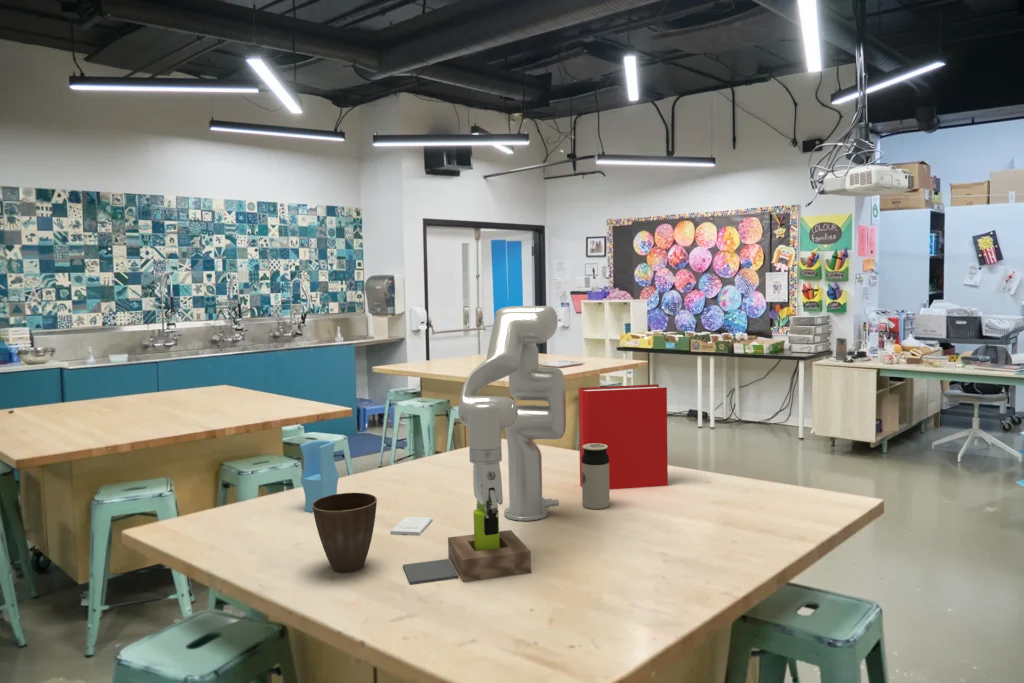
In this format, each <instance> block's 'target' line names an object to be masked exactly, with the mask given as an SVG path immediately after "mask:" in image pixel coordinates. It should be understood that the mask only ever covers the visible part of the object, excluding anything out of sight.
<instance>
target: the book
mask: <svg viewBox="0 0 1024 683" xmlns="http://www.w3.org/2000/svg"><path fill="white" fill-rule="evenodd" d="M578 433H579V434H578V435H579V436H578V439H579V448H578V449H579V486H580V488H582V455H583V453H584V449H583V447H582V446H583V445H585V444H591V443H599V444H605V445H607V446H608V448H607V454H608V456H609V491H610V490H624V489H639V488H640V489H641V488H653V487H668V485H669V482H668V480H669V478H668V476H669V475H668V474H669V473H668V469H669V468H668V467H669V466H668V388H667V387H659V383H656V384H636V385H635V384H633V385H615V386H614V385H613V386H612V385H611V386H608V385H607V386H590V387H587V386H586V387H579V388H578Z"/></svg>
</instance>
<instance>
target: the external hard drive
mask: <svg viewBox="0 0 1024 683" xmlns="http://www.w3.org/2000/svg"><path fill="white" fill-rule="evenodd" d="M432 522H433V518H432V517H423V516H422V517H421V516H420V517H418V516H405V517H403V518H402V520H400V521H399V523H397V524H396V525H395V526H394V527H393V529H391V530H390V532H389V533H390V535H391V536H392V535H394V536H418V537H419V536H421V535H422V533H423V532H424V531H425V530H426V529H427V528H428V527H429V526H430V525H431V524H432Z"/></svg>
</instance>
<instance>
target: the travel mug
mask: <svg viewBox="0 0 1024 683" xmlns="http://www.w3.org/2000/svg"><path fill="white" fill-rule="evenodd" d="M582 447H583V449H584V453H583V455H582V487H581V489H582V490H581V492H582V496H581V498H582V500H581V501H582V506H583V507H584V508H587V509H590V510H602V509H606V508H608V507H609V506H610V504H611V503H610V499H611V498H610V490H609V456H608V454H607V448H608V446H607V445H605V444H599V443H591V444H585V445H583V446H582Z"/></svg>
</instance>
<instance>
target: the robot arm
mask: <svg viewBox="0 0 1024 683" xmlns="http://www.w3.org/2000/svg"><path fill="white" fill-rule="evenodd" d="M493 320H494V321H493V323H492V324H493V325H492V328H491V334H490V337H489V338H490V339H489V343H488V344H489V345H488V349H487V354H486V358H485V359H484V361H482V362H481V363H480V364H478V365H477V366H476V367H475V368H474V369H473V370H472V371H471V373H469V375H467V377H466V378H465V380H464V383H463V386H462V389H461V393H460V397H459V401H458V409H457V414H458V419H459V421H460V423H461V424H462V425H463V426H465V427H468V444H469V445H468V447H469V450H468V451H469V462H470V463H471V464H473V468H472V469H473V470H472V472H473V473H472V475H473V476H472V477H473V478H472V480H473V484H472V485H473V496H474V498H475V499H476V509H479V502H480V503H481V504H482V505H483V506H484V509H485V517H486V518H484V534H485V535H493V534H498V511H499V509H498V508H499V506H500V505H502V504H503V502H504V496H503V482H502V472H501V471H502V470H501V466H500V463H501V462H502V461H503V460H502V458H503V457H502V456H503V454H502V452H503V451H502V429H505V430H504V431H505V435H506V442H507V456H508V458H507V460H508V463H507V464H508V466H507V467H508V494H509V495H508V496H509V498H508V499H509V504H508V505H509V506H508V507H506V509H504V510H503V512H504V513H503V515H504V517H505V518H507V519H509V520H512V521H519V522H526V521H527V522H529V521H530V522H531V521H537V520H541V519H544V518H546V517H548V515H549V510H548V509H549V508H550V507H558V506H560V501H559V499H552V498H544V497H543V469H542V467H543V466H542V461H543V460H542V453H541V450H540V448H539V446H538V445H537V443H536V442H535V441H534V440H547V441H550V440H552V441H553V440H559V439H561V438H563V437H564V435H565V432H566V430H567V429H566V428H567V427H566V426H567V424H566V423H567V413H566V412H567V408H566V407H567V406H566V404H567V402H566V401H567V399H566V398H567V397H566V381H565V380H566V378H565V375H564V373H563V371H562V370H561V369H560V368H558V367H554V366H540V364H539V348H538V346H537V345H536V344H545V343H546V342H548V341H549V340H550V339H551V338H552V337H553V335H555V333H556V332H557V328H558V315H557V312H556V309H554V308H553V307H552V306H549V305H511V306H505V307H501V308H499V309H498V310H496V312H495V314H494V319H493ZM506 377H508V389H509V394H510V397H512V398H510V397H509V396H492V395H489V396H488V395H478V393H479V392H480V391H481V390H482V389H483V388H485V387H486V386H488V385H489V384H492V383H494V382H497V381H498V380H501V379H504V378H506ZM515 400H518V401H534V402H535V401H538V402H539V401H541V402H542V401H543V402H544V401H545V402H546V403H547V404H548V405H537V404H536V405H533V404H520V405H519V404H518V405H517V402H516V401H515ZM478 501H479V502H478ZM486 502H490V503H491V504H487V503H486ZM488 507H491V509H489V511H488Z"/></svg>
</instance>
